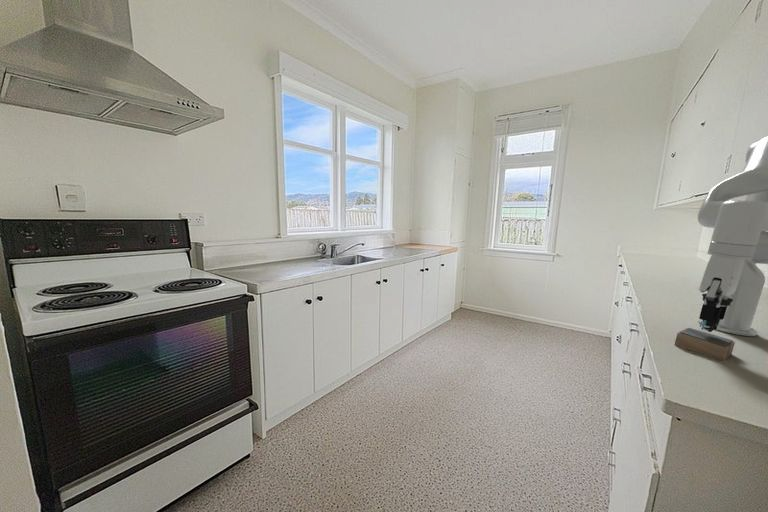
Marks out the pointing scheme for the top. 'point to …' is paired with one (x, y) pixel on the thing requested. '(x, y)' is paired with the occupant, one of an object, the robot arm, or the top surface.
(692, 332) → the stand
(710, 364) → the top surface
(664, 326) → the top surface
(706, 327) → the push button
